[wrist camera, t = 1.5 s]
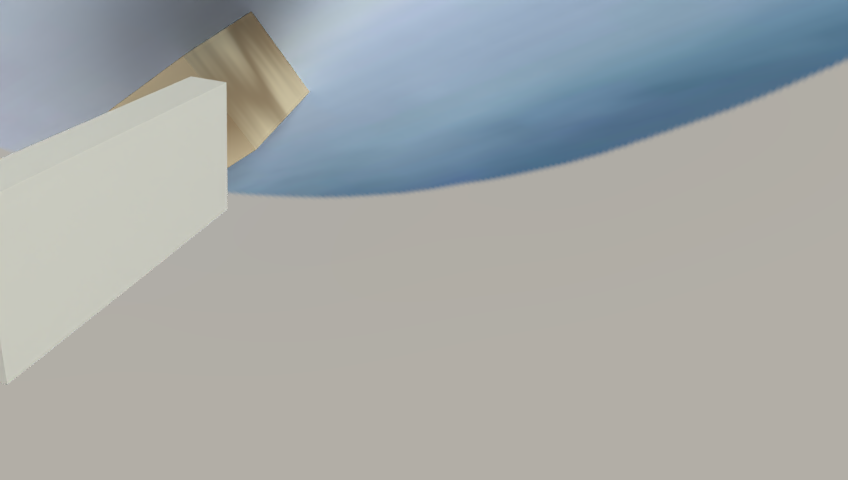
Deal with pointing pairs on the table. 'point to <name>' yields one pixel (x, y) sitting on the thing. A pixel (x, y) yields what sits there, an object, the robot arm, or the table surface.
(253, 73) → the beech block
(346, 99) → the table surface
